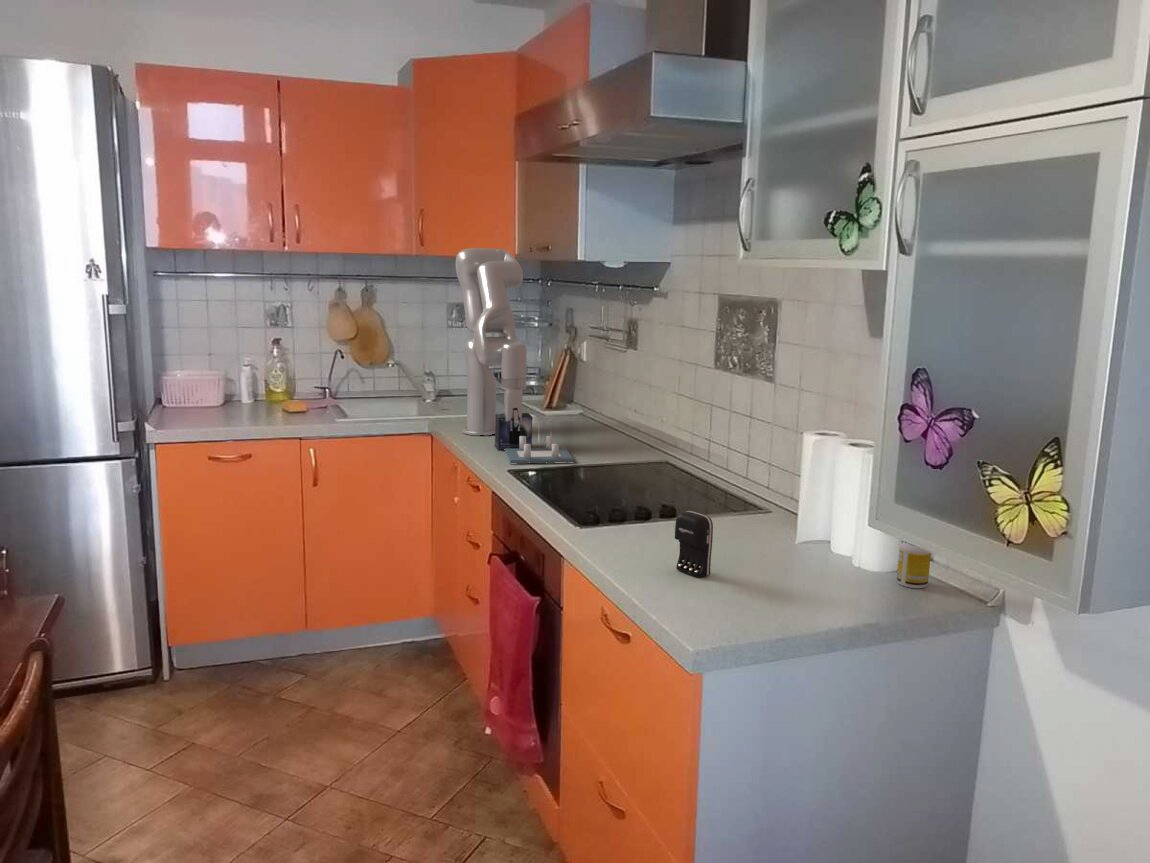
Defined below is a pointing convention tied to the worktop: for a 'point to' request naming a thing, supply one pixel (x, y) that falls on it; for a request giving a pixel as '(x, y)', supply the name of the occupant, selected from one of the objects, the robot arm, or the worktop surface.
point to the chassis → (538, 453)
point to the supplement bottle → (913, 566)
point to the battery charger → (694, 543)
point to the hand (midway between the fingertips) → (513, 440)
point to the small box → (504, 428)
